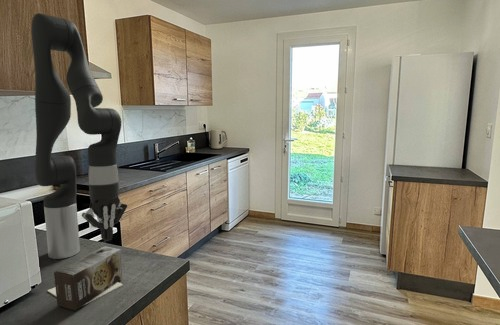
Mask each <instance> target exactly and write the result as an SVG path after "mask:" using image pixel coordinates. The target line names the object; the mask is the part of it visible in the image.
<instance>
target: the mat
mask: <svg viewBox="0 0 500 325" xmlns="http://www.w3.org/2000/svg"><path fill="white" fill-rule="evenodd" d="M123 286H124V284H123V283H121V282H119V281H117V282H116V283H114V284H113V285H112V286H110V287H109V288H107V289H106V290H104V291H103V292H102V293H100V294H99V295H97V296H96V297H94V298H93V299H91V300H90V301H89V302H87V303H86V304H84V305H83V306H86V305H87V304H89V303H92V302H93V301H95V300H97V299H99V298H101V297H104V296H105V295H108V294H109V293H111V292H113V291H115V290H116V289H118V288H121V287H123ZM47 292H48V293H50V294H51V295H53V296H54V297H55V298H57V296H56V287H55V286H54V287H53V288H49V289H47ZM83 306H81V307H80V308H82V307H83Z"/></svg>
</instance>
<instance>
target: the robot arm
mask: <svg viewBox="0 0 500 325" xmlns="http://www.w3.org/2000/svg"><path fill="white" fill-rule="evenodd" d="M30 26H31V29H30V31H31V42H32V44H31V45H32V51H33V52H32V54H33V62H34V63H33V64H34V74H35V78H34V84H35V88H34V89H35V90H34V94H35V95H34V110H35V125H36V126H35V127H36V128H35V129H36V137H35V138H36V139H35V140H36V142H35V143H36V144H35V155H34V156H35V157H34V175H35V176H34V177H35V181H36V182H37V184H38V185H39V186H40V187H49V186H50V187H52V186H58V185H60V186H59V187H58V188H57V189H55V190H54V191H53V192H52V193H49V194H48V195H46V196H45V197H44V198H43V210H44V211H43V212H44V220H45V222H44V223H45V233H46V243H47V245H46V246H47V253H48V254H47V256H48V258H50V259H51V260H52V259H53V260H58V259H59V260H61V259H66V258H70V257H73V256H75V255H78V253H79V252H80V250H81V248H80V235H79V234H80V233H79V222H78V221H79V220H78V208H77V195H78V193H77V192H78V191H77V188H78V187H77V166H76V163H75V160H74V158H73V157H72V156H70V155H58V156H57V155H56V156H52V153H53V152H52V151H53V147H54V144H55V143H56V141H57V139H58V138H59V137H60V135H61V134H62V133H63V131H64V130H65V128H67V127H66V126H68V124H69V121H70V120H71V116H72V115H71V114H72V111H71V110H72V98H71V95H72V97H73V100H74V102H75V106H76V114H77V124H78V127H79V129H80V130H81V131H82V132H83V133H85V134H86V135H89V136H90V135H91V136H94V135H102V137H101V139H100V140H99V141H97V142H94V143H91V144H89V146H88V147H87V157H88V158H87V161H88V162H87V163H88V172H87V173H88V176H87V178H88V189H89V190H88V193H89V200H90V203H89V205H88V206H89V209H88V210H87V211H86V212H83V213H81V217H82V218H83V219H84V220H85V221H86V222H88V224H90V225H91V226H92V227H93V228H97V229H99V230H100V238H101V239H102V240H103V241H104V242H108V241H111V240H112V239H113V237H114V226H115V225H116V224H118V223H119V222H120V221H121V219H122V218H123V216H124V214H125V211H126V209H127V208H128V204H126V203H123V202H121V200H120V197H119V196H120V184H119V182H120V181H119V171H118V165H117V161H118V160H117V147H118V143H119V138H120V133H121V130H122V118H121V115H120V114H119V112H118V111H117V110H116V109H114V108H111V107H110V108H109V107H108V108H107V107H105V108H103V107H99V106H100V105H101V104H102V103H103V99H104V98H103V97H104V95H103V93H102V91H101V90H100V88H99V86H98V84H97V81H96V80H95V78H94V75H93V74H92V71H91V68H90V64H89V63H88V58H87V53H86V50H85V47H84V44H83V41H82V37H81V35H80V32H79V30H78V28H77V26H76V24H75V23H74V22H73V21H71V20H68V19H66V18H63V17H62V18H61V17H57V16H55V15H50V14H45V13H36V14H34V15H33V17H32V21H31V25H30ZM51 51H58V52H63V53H64V52H65V53H67V54H68V55H69V57H70V64H69V67H68V69H67V72H66V84H67V86H68V89H69V90H68V89H67V87H66V85H65V83H64V82H63V81H62V79H61V78H60V77H59V75H58V73H57V71H56V69H55V67H54V64H53V63H54V62H53V59H52V54H51ZM69 91H70V93H69ZM95 216H96V217H95Z"/></svg>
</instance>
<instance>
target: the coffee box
mask: <svg viewBox="0 0 500 325" xmlns="http://www.w3.org/2000/svg"><path fill="white" fill-rule="evenodd" d="M122 267H123V265H122V249H120V248H115V247H110V246H105V245H104V246H102V247H100V248H99V249H97V250H95V251H93V252H91V253H89V254H86V255H85V256H83V257H81V258H80V259H77V260H75V261H73V262H71V263H69V264H67V265H66V266H63V267H61V268H60V269H58V270H56V271H54V272H53V275H54V276H53V278H54V287H56V296H57V297H56V296H55V297H56V305H57V306H60V307H63V308H65V309H69V310H72V311H78V310H79V309H80V308H82V307H83V305H84V304H86V303H87V302H89V301H90V300H91V299H93V298H94V297H96V296H97V295H99V294H100V293H102V292H103V291H104V290H106V289H107V288H109V287H110V286H112V285H113V284H114V283H116V282H119V281H120V280H122V279H123V277H124V276H123V268H122ZM89 303H90V302H89ZM87 304H88V303H87ZM87 304H86V305H87ZM81 306H82V307H81ZM84 306H85V305H84Z"/></svg>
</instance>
